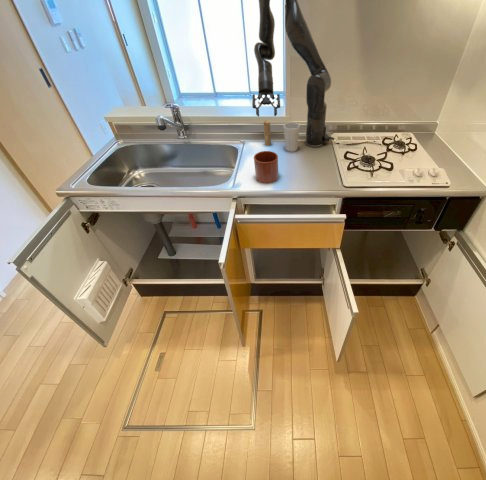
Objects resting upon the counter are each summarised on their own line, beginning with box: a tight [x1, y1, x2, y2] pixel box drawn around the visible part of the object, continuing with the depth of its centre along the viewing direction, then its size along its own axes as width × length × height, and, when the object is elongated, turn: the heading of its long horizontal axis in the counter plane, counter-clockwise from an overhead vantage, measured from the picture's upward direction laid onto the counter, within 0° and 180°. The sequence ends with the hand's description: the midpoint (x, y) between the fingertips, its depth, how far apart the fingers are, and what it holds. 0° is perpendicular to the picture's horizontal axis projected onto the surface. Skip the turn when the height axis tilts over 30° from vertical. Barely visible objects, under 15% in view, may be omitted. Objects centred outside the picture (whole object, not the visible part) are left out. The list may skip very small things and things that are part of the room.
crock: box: [253, 150, 280, 184], centre depth 117 cm, size 10×10×10 cm
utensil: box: [263, 120, 272, 147], centre depth 138 cm, size 3×3×12 cm
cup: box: [283, 121, 301, 153], centre depth 134 cm, size 8×8×12 cm
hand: (266, 115), depth 136 cm, fingers open, 8 cm apart
